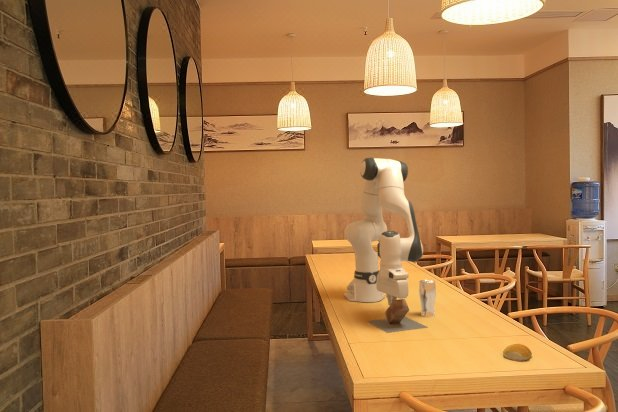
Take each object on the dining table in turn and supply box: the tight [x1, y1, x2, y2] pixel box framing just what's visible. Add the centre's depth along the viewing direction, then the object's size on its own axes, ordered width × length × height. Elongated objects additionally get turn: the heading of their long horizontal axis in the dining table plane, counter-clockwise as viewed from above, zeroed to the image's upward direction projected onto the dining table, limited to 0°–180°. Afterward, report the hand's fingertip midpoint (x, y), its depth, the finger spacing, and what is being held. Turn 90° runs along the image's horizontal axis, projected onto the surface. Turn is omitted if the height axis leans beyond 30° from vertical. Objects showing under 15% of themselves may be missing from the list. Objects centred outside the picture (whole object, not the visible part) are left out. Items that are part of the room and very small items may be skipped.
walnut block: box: [384, 298, 410, 324], centre depth 204 cm, size 5×5×10 cm
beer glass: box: [418, 279, 437, 318], centre depth 217 cm, size 7×7×15 cm
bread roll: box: [502, 343, 533, 362], centre depth 166 cm, size 8×9×4 cm
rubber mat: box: [366, 316, 429, 334], centre depth 204 cm, size 18×18×1 cm
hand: (391, 305), depth 208 cm, fingers closed
